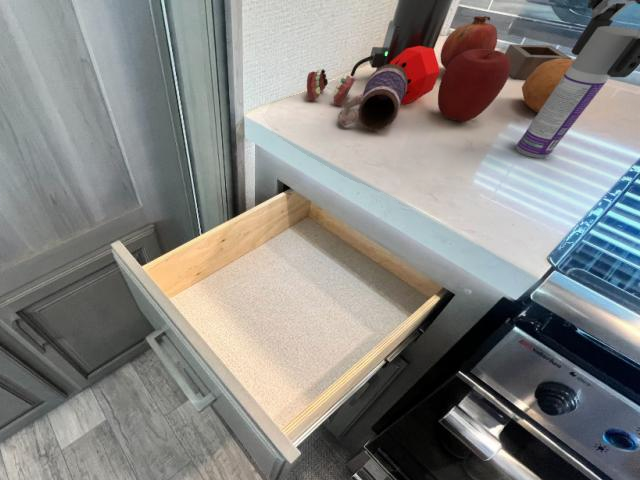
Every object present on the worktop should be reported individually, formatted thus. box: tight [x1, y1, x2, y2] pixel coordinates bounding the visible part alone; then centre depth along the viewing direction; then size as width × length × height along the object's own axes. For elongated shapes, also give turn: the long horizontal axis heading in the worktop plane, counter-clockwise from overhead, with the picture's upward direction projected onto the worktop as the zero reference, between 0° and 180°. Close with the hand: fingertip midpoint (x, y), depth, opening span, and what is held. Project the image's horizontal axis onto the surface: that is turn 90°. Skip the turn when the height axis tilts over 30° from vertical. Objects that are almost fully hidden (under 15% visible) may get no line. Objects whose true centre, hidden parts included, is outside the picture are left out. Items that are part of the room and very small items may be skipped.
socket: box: [504, 43, 573, 80], centre depth 71 cm, size 9×9×4 cm
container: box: [515, 25, 639, 159], centre depth 45 cm, size 5×5×15 cm
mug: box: [337, 64, 408, 132], centre depth 56 cm, size 10×7×12 cm
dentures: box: [306, 68, 356, 106], centre depth 62 cm, size 6×5×9 cm
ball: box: [390, 46, 441, 105], centre depth 60 cm, size 8×8×8 cm
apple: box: [437, 49, 510, 122], centre depth 54 cm, size 10×10×10 cm
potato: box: [521, 58, 575, 113], centre depth 57 cm, size 9×11×8 cm
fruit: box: [440, 15, 498, 69], centre depth 68 cm, size 11×10×10 cm
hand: (596, 64), depth 42 cm, fingers open, 8 cm apart
